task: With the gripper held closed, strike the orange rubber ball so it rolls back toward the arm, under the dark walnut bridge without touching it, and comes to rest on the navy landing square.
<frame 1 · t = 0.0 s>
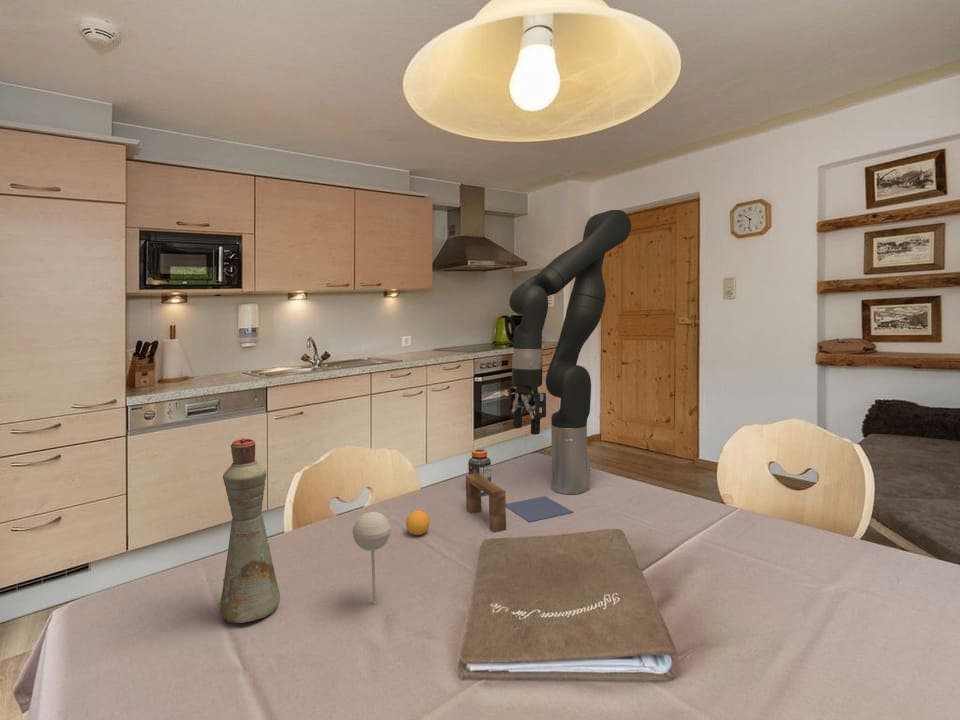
hand: (526, 430, 128), 17 cm above the table, tool pointing down, fingers open, 8 cm apart
lollipop: (374, 604, 82), on the table
pill bottle: (480, 493, 133), on the table
bridge: (485, 519, 115), on the table
ball: (417, 522, 108), on the table
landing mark: (537, 508, 121), on the table
bottle: (251, 612, 80), on the table
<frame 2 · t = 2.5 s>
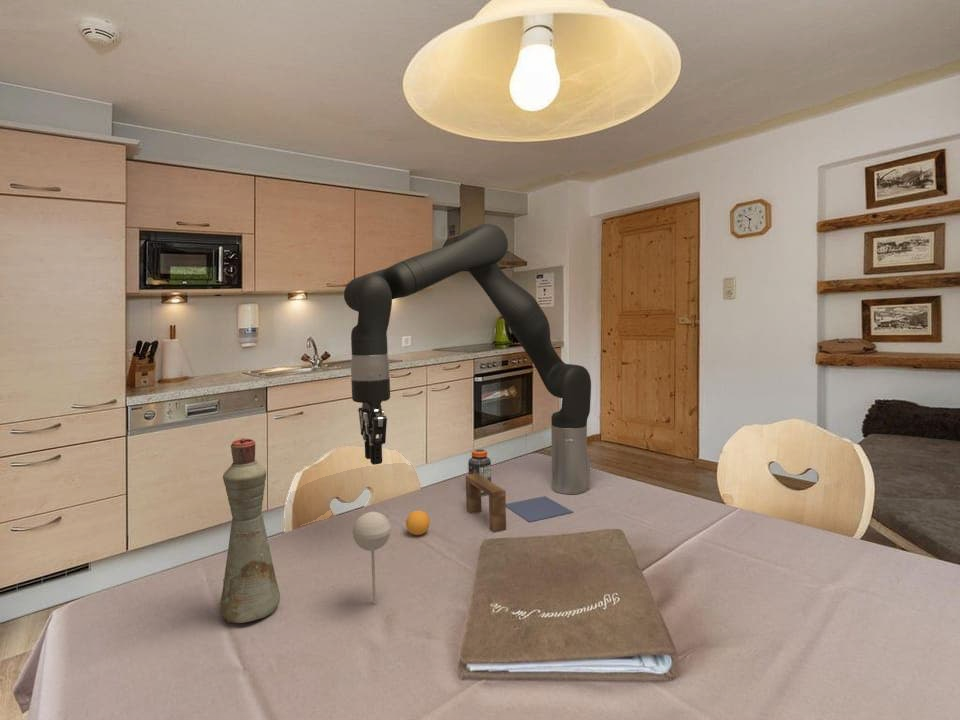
hand: (373, 460, 103), 17 cm above the table, tool pointing down, fingers open, 4 cm apart
nothing on the table moved.
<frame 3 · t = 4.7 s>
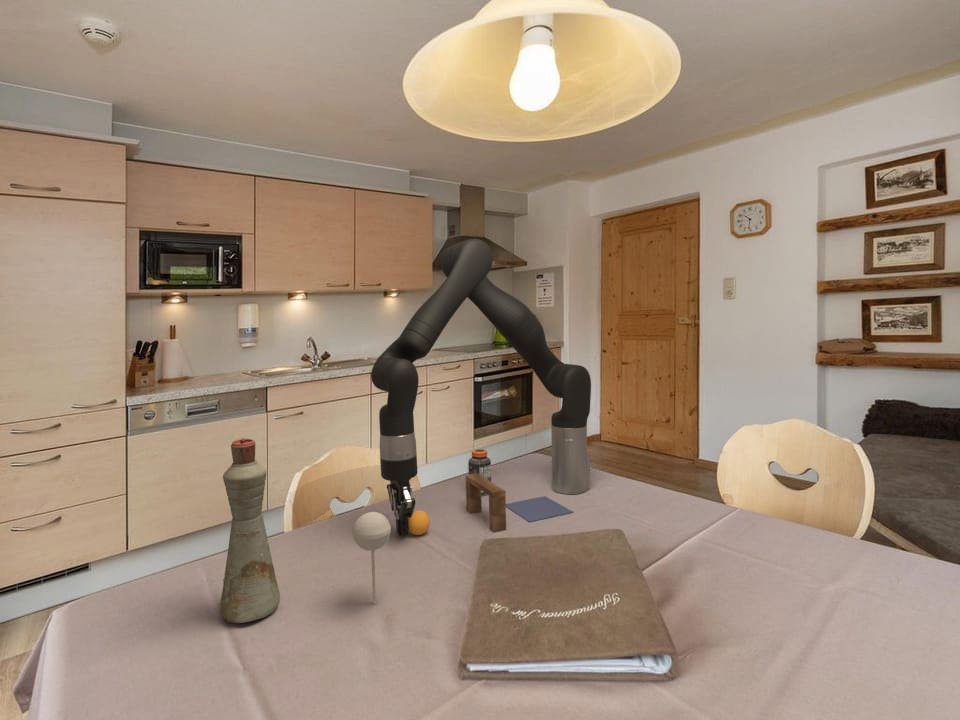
hand: (402, 534, 107), 1 cm above the table, tool pointing down, fingers closed
ball: (418, 522, 108), on the table, touching gripper
everything else where it was.
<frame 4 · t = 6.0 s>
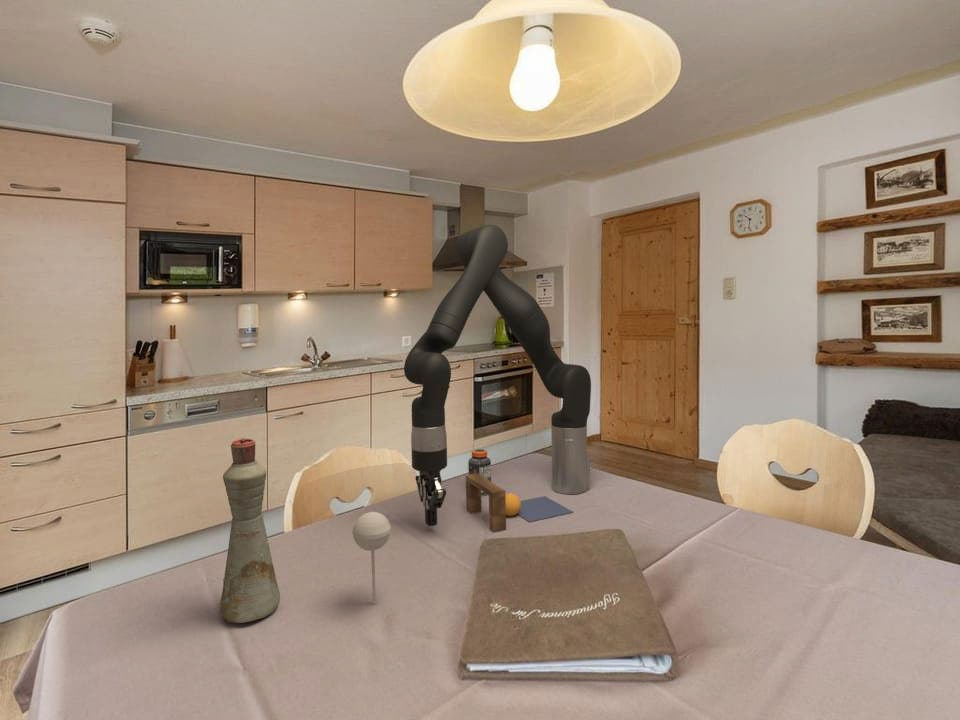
hand: (431, 524, 109), 2 cm above the table, tool pointing down, fingers closed
ball: (510, 504, 118), on the table
everything else where it was.
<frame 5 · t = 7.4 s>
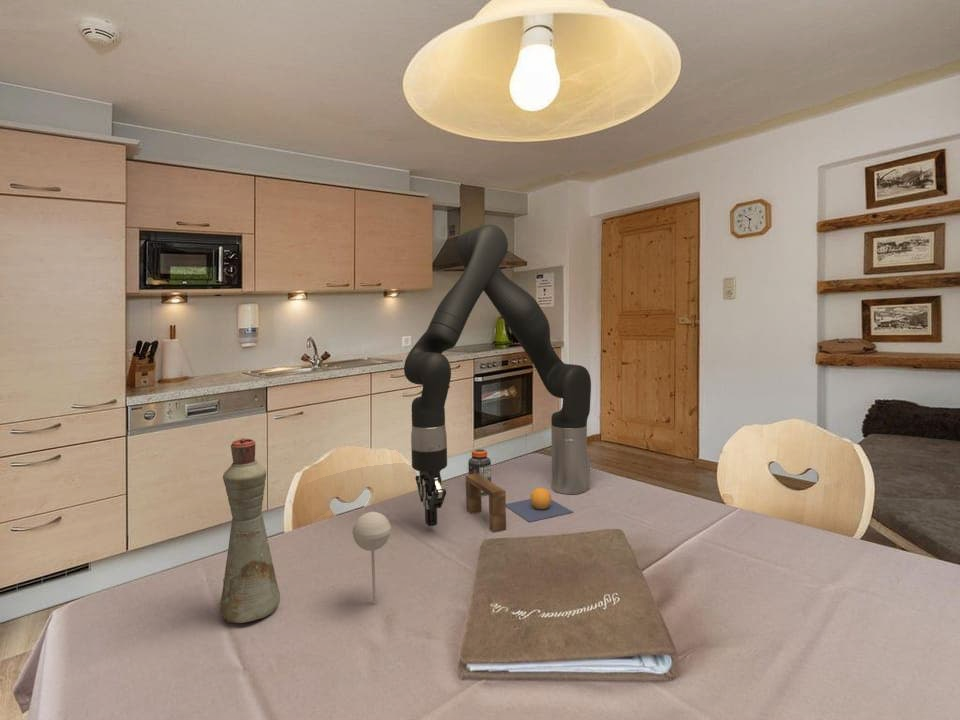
hand: (431, 524, 109), 2 cm above the table, tool pointing down, fingers closed
ball: (540, 498, 121), on the table
everything else where it was.
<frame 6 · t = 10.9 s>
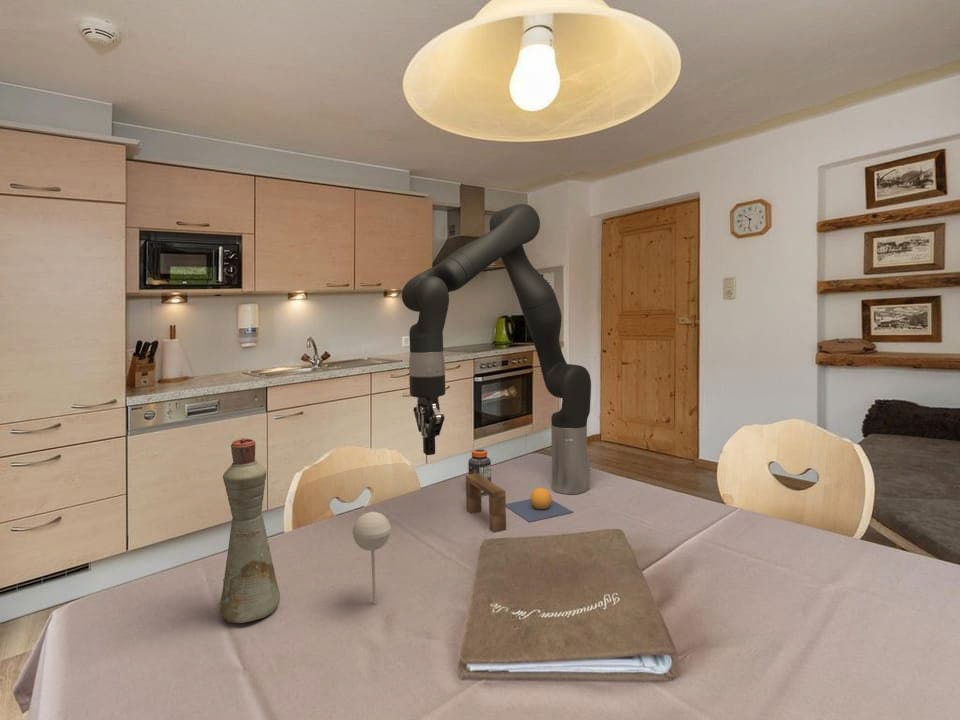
hand: (429, 453, 108), 17 cm above the table, tool pointing down, fingers closed
nothing on the table moved.
at the end: ball 0.8 cm from the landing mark (horizontally); ball never touched bridge; ball at rest at the end (0.0 cm/s) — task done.
